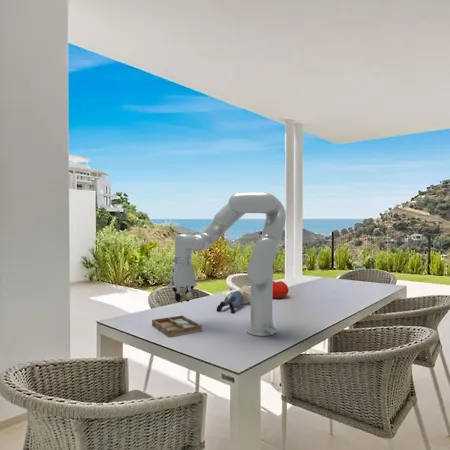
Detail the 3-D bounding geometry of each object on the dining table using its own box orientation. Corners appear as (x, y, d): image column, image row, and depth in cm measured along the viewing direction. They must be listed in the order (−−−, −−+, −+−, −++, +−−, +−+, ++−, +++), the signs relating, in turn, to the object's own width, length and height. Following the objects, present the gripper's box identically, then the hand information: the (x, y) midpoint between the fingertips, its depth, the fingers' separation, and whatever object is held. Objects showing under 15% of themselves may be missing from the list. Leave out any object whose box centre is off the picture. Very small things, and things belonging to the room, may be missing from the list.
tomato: (285, 294, 245) (285, 279, 245) (290, 300, 229) (290, 283, 228) (263, 294, 244) (263, 279, 244) (266, 300, 228) (266, 283, 228)
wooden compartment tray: (201, 331, 165) (201, 325, 165) (169, 337, 157) (168, 331, 157) (182, 320, 183) (182, 315, 183) (152, 325, 175) (152, 319, 175)
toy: (246, 319, 193) (267, 303, 219) (245, 300, 192) (266, 285, 218) (206, 314, 204) (231, 299, 230) (205, 296, 203) (230, 282, 229)
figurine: (169, 304, 176) (189, 302, 165) (168, 294, 176) (188, 292, 166) (175, 303, 178) (196, 301, 168) (174, 293, 179) (194, 291, 169)
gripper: (169, 262, 164) (168, 304, 164) (203, 261, 173) (202, 301, 173) (162, 261, 170) (162, 301, 171) (196, 259, 179) (195, 297, 179)
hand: (182, 300), depth 172 cm, fingers closed on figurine, 4 cm apart
